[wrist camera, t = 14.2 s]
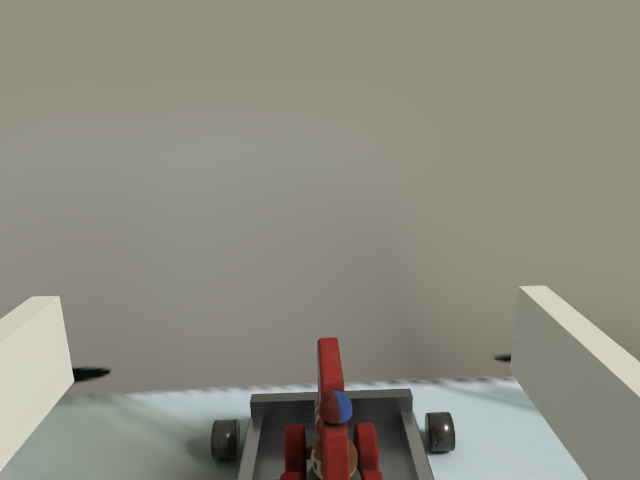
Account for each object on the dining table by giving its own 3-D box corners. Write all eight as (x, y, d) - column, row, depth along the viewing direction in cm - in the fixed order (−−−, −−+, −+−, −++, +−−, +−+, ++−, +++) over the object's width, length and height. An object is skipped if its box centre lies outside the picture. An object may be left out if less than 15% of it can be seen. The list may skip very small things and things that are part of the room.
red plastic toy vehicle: (277, 584, 29) (266, 435, 27) (288, 445, 41) (281, 332, 39) (394, 580, 29) (394, 430, 27) (371, 442, 41) (370, 329, 39)
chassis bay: (168, 623, 28) (160, 573, 27) (225, 424, 45) (222, 390, 45) (513, 612, 28) (517, 561, 27) (438, 417, 45) (439, 382, 44)
